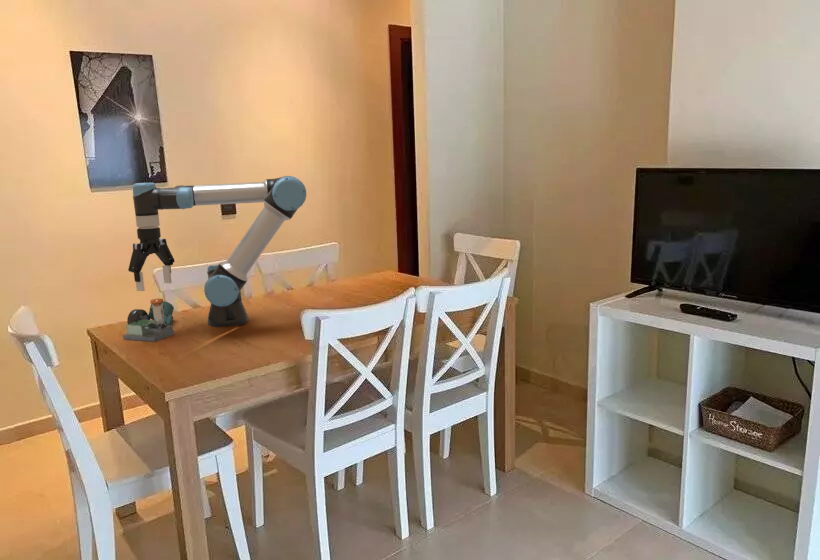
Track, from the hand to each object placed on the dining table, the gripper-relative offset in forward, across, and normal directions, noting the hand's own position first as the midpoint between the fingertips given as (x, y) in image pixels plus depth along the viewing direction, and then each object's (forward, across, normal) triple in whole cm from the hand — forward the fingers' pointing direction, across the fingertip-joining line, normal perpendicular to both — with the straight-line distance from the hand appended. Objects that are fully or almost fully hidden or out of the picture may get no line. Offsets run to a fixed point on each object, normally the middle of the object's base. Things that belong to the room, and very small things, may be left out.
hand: (154, 286), depth 228 cm
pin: (+17, 0, 0) cm, 17 cm away
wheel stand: (+18, -4, -13) cm, 23 cm away
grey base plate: (+18, +1, -4) cm, 19 cm away
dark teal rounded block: (+16, -19, -13) cm, 28 cm away
